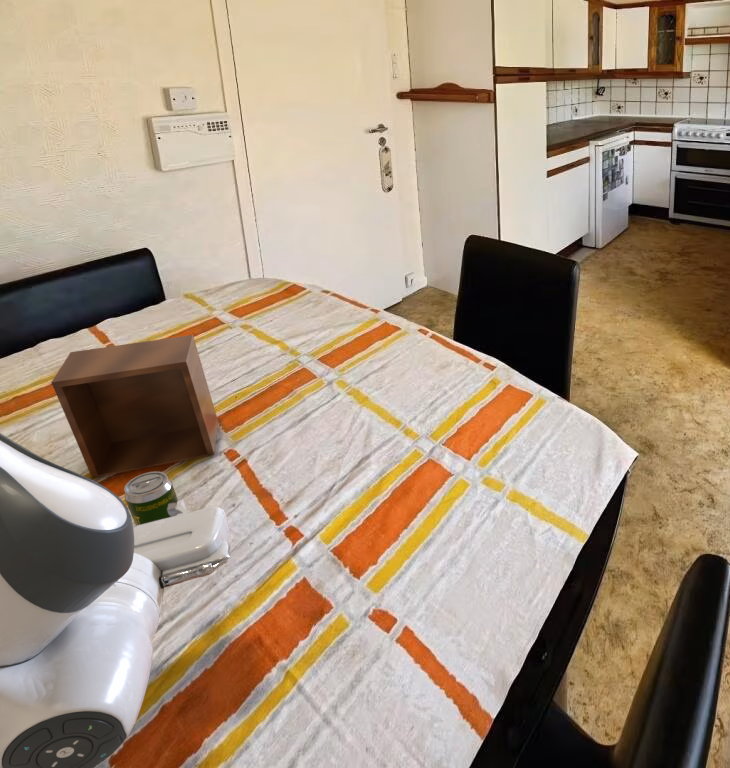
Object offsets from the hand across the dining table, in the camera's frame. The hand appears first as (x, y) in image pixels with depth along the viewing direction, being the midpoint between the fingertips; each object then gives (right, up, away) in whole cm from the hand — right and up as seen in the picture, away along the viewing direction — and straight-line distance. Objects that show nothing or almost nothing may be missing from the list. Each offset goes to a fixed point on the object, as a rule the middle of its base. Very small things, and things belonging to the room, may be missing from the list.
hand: (131, 517), depth 68 cm
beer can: (-4, -9, +16) cm, 18 cm away
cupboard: (-18, +3, +38) cm, 42 cm away
